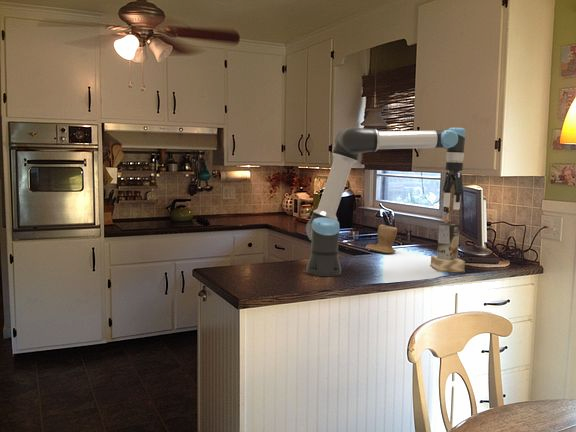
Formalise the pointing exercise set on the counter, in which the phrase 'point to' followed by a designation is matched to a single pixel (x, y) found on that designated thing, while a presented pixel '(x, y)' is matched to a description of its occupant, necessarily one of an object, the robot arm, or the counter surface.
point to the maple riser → (447, 264)
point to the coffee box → (448, 241)
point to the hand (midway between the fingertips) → (451, 208)
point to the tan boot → (384, 239)
